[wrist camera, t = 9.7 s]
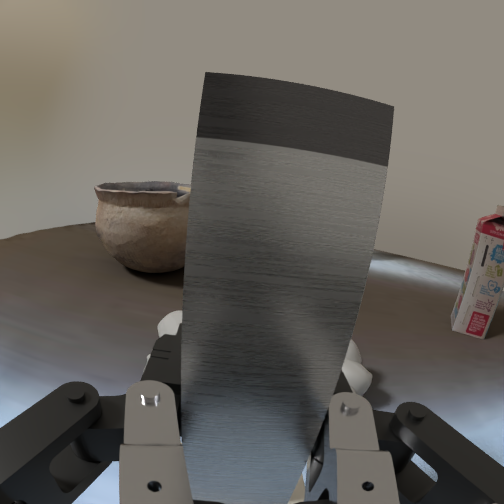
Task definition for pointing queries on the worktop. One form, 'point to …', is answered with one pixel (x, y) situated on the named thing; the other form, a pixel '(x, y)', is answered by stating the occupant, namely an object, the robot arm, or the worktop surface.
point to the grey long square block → (273, 275)
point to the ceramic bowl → (144, 223)
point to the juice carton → (481, 278)
